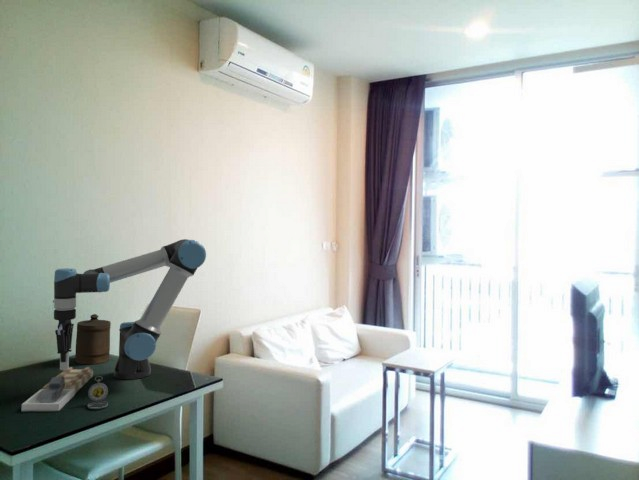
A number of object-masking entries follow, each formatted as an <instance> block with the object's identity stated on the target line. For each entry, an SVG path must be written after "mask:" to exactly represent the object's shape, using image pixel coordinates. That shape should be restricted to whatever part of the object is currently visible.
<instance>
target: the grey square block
mask: <svg viewBox="0 0 639 480" xmlns="http://www.w3.org/2000/svg"><path fill="white" fill-rule="evenodd" d="M46 390H56V401H57V400H58V399H59V398H60V391H61V387H48V388H47V389H46Z"/></svg>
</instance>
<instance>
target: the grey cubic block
mask: <svg viewBox="0 0 639 480" xmlns="http://www.w3.org/2000/svg"><path fill="white" fill-rule="evenodd" d="M54 402H56V390H44V391H43V392H42V393H40V403H54Z"/></svg>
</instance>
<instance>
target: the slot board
mask: <svg viewBox="0 0 639 480" xmlns="http://www.w3.org/2000/svg"><path fill="white" fill-rule="evenodd" d="M93 375H94V369H93V368H91V367H90V366H86V367H85V368H81V369H79V368H78V369H77V368H75V369H74V368H73V366H69V369H68V370H62V371H61V372H59V374H58V375H56V376H55V377H64V380H65V387H64V389H75V394H76V393H77V392H78V391H79V390H80V389H82V388H83V386H84V385H86V383H88V382H89V380H91V379H92V378H93ZM48 387H49V382H48V383H46V384H45V385H44V386H43V387H42V389H47V388H48Z"/></svg>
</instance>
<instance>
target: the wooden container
mask: <svg viewBox="0 0 639 480" xmlns="http://www.w3.org/2000/svg"><path fill="white" fill-rule="evenodd" d="M111 324H112V323H111V321H110V320H107V319H106V320H105V319H99V315H98V314H97V313H94V314H91V315H90V319H89V320H88V319H87V320H81V321H79V322H77V323H76V335H75V336H76V339H75V359H74V362H75V363H77V364H80V365H96V364H98V365H99V364H102V363H103V364H104V363H106V362H108V361H109V360H110V350H111V327H112V326H111Z"/></svg>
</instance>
